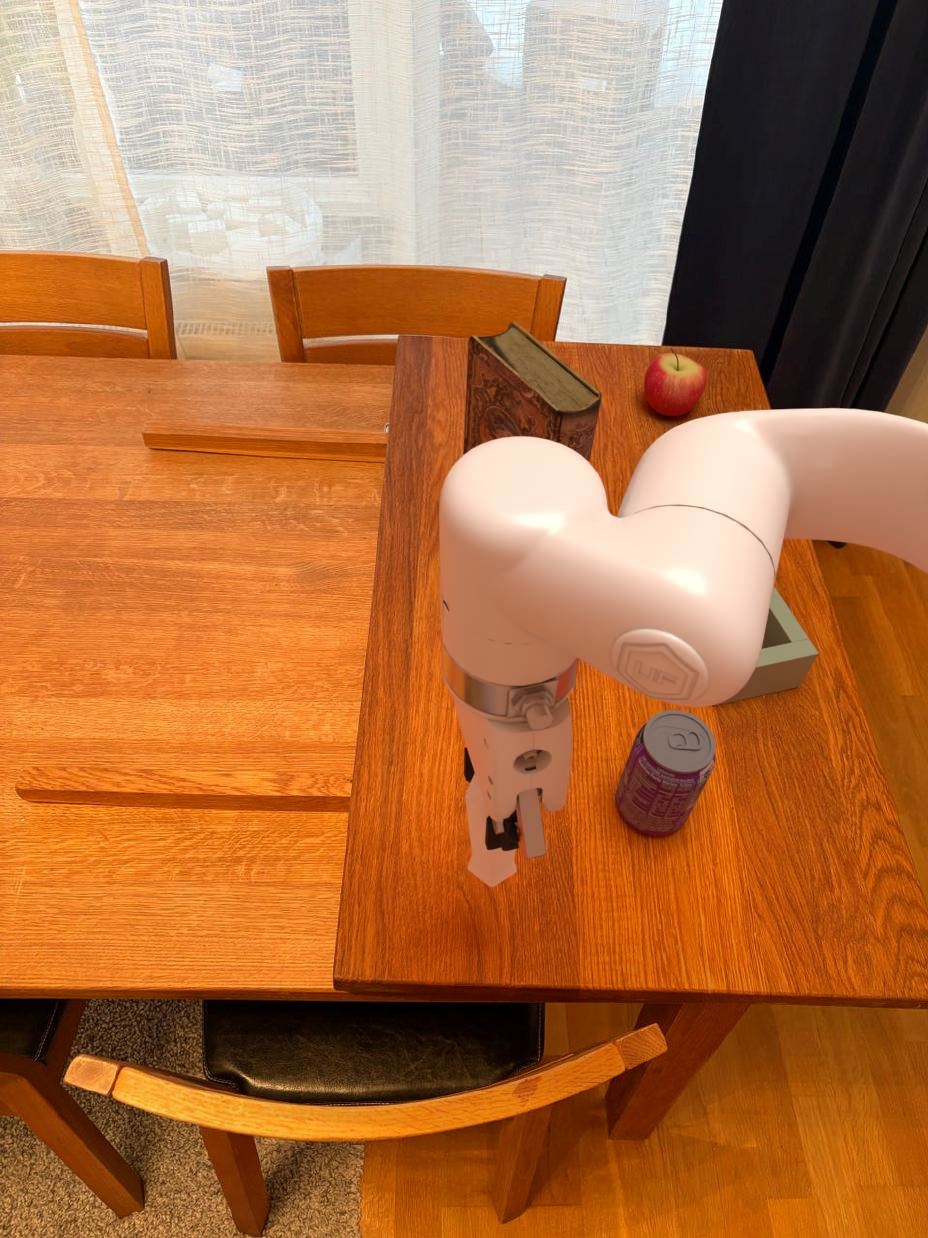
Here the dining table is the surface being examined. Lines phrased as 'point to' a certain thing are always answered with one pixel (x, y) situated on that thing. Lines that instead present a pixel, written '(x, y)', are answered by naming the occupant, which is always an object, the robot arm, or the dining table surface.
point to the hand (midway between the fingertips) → (496, 806)
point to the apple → (674, 383)
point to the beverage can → (666, 772)
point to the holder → (779, 654)
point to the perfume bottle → (484, 862)
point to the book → (526, 393)
